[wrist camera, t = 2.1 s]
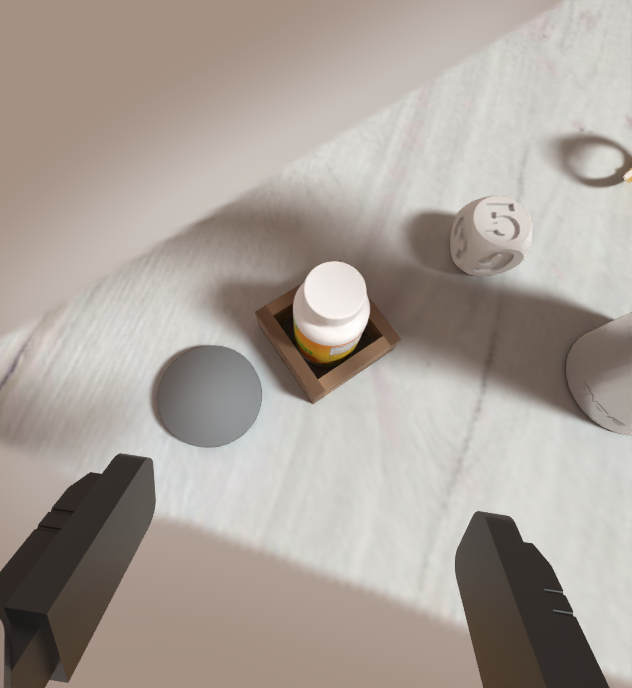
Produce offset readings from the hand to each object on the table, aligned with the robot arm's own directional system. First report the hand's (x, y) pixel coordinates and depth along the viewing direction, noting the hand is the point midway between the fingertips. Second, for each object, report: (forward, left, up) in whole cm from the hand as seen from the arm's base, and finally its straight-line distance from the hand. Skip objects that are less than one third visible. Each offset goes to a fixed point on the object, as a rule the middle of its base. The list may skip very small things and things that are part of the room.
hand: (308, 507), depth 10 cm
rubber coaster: (+3, -9, -22) cm, 24 cm away
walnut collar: (-8, -8, -22) cm, 24 cm away
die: (-24, -7, -22) cm, 34 cm away
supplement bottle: (-8, -8, -22) cm, 25 cm away
